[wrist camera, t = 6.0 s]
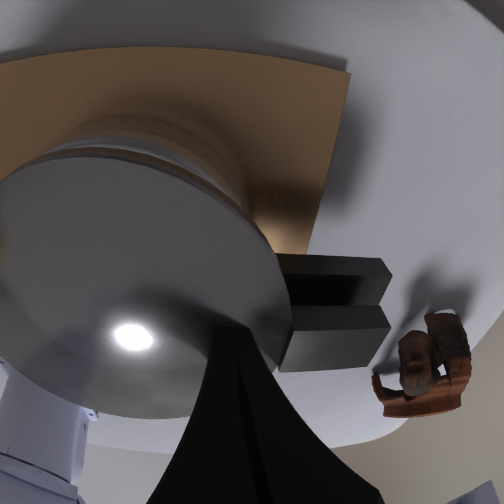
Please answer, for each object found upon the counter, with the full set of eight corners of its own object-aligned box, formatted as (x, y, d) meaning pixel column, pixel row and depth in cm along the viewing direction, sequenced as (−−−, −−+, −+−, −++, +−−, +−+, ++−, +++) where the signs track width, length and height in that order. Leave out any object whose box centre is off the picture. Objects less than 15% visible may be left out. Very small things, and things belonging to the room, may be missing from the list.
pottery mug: (470, 321, 26) (475, 402, 22) (386, 338, 32) (388, 413, 28) (458, 292, 18) (467, 416, 14) (337, 318, 24) (337, 426, 20)
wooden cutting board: (299, 348, 23) (317, 412, 18) (29, 333, 19) (8, 394, 14) (383, 83, 12) (458, 109, 8) (-29, 71, 9) (-103, 97, 4)
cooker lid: (21, 382, 13) (15, 401, 12) (-69, 159, 6) (-91, 175, 5) (322, 401, 16) (328, 421, 15) (430, 184, 9) (452, 203, 8)
